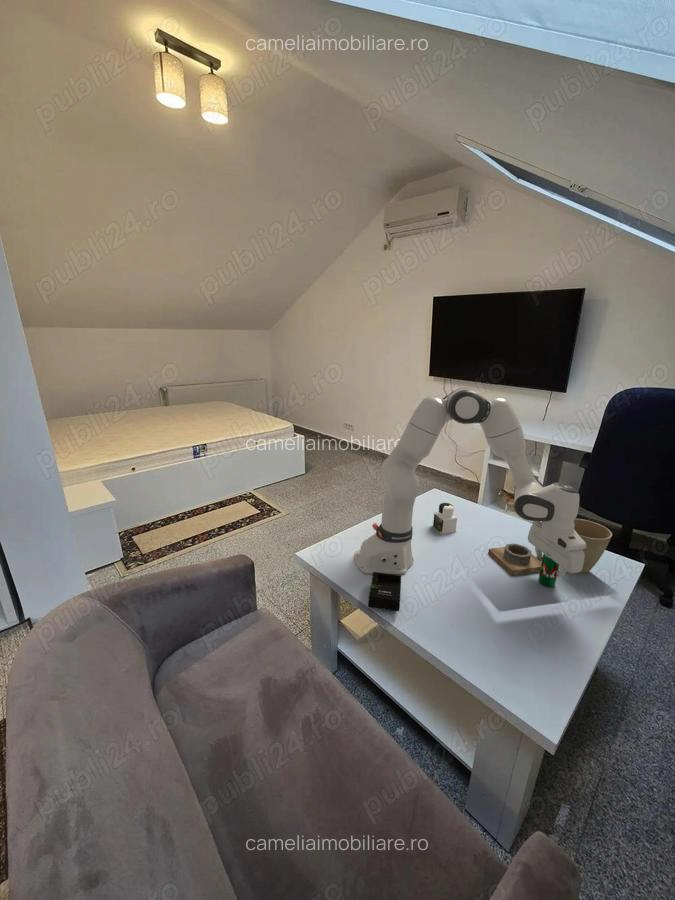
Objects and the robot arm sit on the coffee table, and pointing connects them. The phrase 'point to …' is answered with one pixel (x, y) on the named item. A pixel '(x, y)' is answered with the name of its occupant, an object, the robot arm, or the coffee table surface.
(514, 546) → the socket block
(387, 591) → the battery charger
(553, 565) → the soda can
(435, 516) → the white boxy device
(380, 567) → the robot arm
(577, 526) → the plant pot
